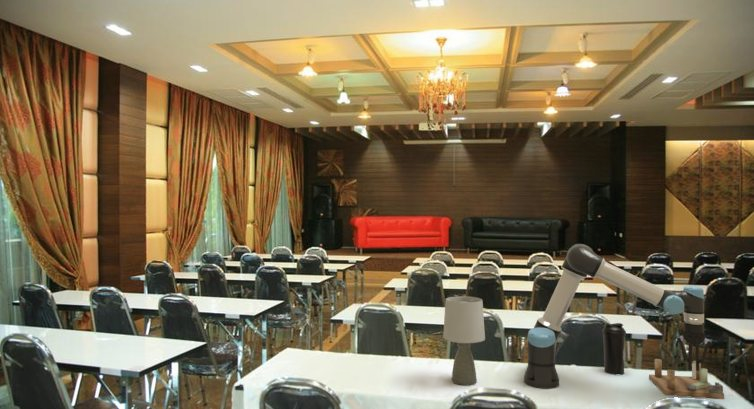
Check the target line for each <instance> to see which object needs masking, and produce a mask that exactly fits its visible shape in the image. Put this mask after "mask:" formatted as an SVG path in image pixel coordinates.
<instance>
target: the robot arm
mask: <svg viewBox="0 0 754 409" xmlns="http://www.w3.org/2000/svg"><path fill="white" fill-rule="evenodd" d="M561 269H562V274H561V276H560V278H559V280H558V282H557V285H556V287H555V288H554V291H553V293H552V295H551V297H550V300H549V302H548V304H547V307H546V309H545V310H544V312H543V315H542V317H539V318H538V319H536V323H535V325H534V327H533V328H530V329H529V330H528V332H527V336H526V337H527V366H526V369H525V373H524V374H523V383H524V384H526V385H527V386H529V387H534V388H539V389H554V388H557V387H559V386H560V377H559V375H558V371H557V368H556V345H557V341H558V339H559V338H560V335H561V333H562V328H561V325H562V323H563V320H564V318H565V317H566V314H567V312H568V310H569V307H570V305H571V303H572V301H573V299H574V297H575V294H576V292H577V290H578V287H579V285H580V283H581V281H582V280H583V279H586V278H587V277H588V276H589V277H590V278H593V279H596V278H598V279H601V281H604V282H606V283H609V284H610V285H613V286H615V287H617V288H619V289H621V290H623V291H625V292H627V293H629V294H632V295H633V296H635V297H638V298H639V299H641V300H644V301H646V302H647V303H651V305H653V306H654V307H658V308H660V309H662V310H665V312H667V313H668V314H671V315H679V314H681V313H682V312H683V332H682V335H681V336H677V338H676V340H677V342H678V343H679V346H680V350H681V353H682V357H683V360H684V361H685V362H686V361H687V362H688V370H690V371H691V377H692V378H693V379H696V371H699V363H702V364H703V363H704V362H705V359H706V357H707V356H706V355H707V353H708V350H709V346H710V345H711V344H712V340H711V339H708V338H706V334H705V325H704V323H705V293H704V289H703V287H700V286H696V285H686V286H684V287H683V290H673V289H671V290H670V289H664V288H661V287H660V286H657V285H655V284H654V283H651V282H649V281H647V280H645V279H643V278H641V277H638V276H637V275H634V274H632V273H630V272H628V271H626V270H624V269H621V268H619V267H617V266H615V265H613V264H611V263H609V262H607V261H606V260H605V258H604V257H601V255H598V254H597V253H595V252H594V251H593V248H592V247H590V246H588V245H586V244H583V243H576V244H573V245H571V247H569V249H568V250H567V253H566V256H565V258H564V261H563V263H562V266H561ZM684 340H685V341H686V343H687V344H688V355H687V351H686V347H685V344H684ZM703 342H704V348H703V352H702V355H701V358H700V345H701V344H702V343H703ZM693 345H695V361H696V362H693Z"/></svg>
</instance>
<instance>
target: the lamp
mask: <svg viewBox="0 0 754 409" xmlns="http://www.w3.org/2000/svg"><path fill="white" fill-rule="evenodd" d="M444 304H445V305H444V320H443V333H442V334H443V335H442V336H443V340H446V341H448V342H451V343H457V347H458V348H457V351H456V353H455V357H454V360H453V367H452V370H451V371H452V372H451V382H452V383H453V384H455V385H459V386H472V385H475V384H476V383H477V382H478V379H477V371H476V365H475V360H474V357H473V353H472V351H471V346H472V344H477V343H482V342H484V341H485V340H486V334H485V333H486V332H485V320H484V319H485V318H484V317H485V316H484V304H483V299H482V298H480V297H476V296H449V297H447V298H445V302H444Z"/></svg>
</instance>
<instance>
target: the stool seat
mask: <svg viewBox="0 0 754 409" xmlns="http://www.w3.org/2000/svg"><path fill="white" fill-rule="evenodd" d="M662 362H663V361H662V359H660V358H655V359H654V374H648V380H650V381H651V382H652V384H654V385H655V386H656V387H657V388H658V389H659V390H660V391H661V392H662V394H664V395H665V396H667V395H677V396H676V397H686V396H691V397H690V398H701V397H705V398H706V399H719V400H724V399H725V394H724V386H723V384H721V383H720V382H717V381H716V382H714V384H711V383H710V382H709V381H708V387H706V388H702V389H698V390H696V391H692V390H688V389H687V385H688V384H694V383H698V382H700V368H702V366H701V365H702V364H701V363H699V371H696V379H693V378H692V376H687V375H686V376H685V375H675V372H676V371H675V369H667V370H666V375H665V374H663V370H662V369H663V365H662V364H663V363H662ZM692 362H696V360H692ZM705 398H704V399H705Z"/></svg>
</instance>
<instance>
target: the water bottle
mask: <svg viewBox="0 0 754 409" xmlns="http://www.w3.org/2000/svg"><path fill="white" fill-rule="evenodd" d="M623 326H624V324H623V323H620V322H616V323H609V322H605V323H604V327H603V328H602V329H601V330H602V336H603V360H604V364H603V366H604V372H605V373H606V374H610V375H615V376H617V375H616V374H621V375H623V373H624V374H625V355H626V336H627V332H626V331H627V330H625V328H624V327H623Z"/></svg>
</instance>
